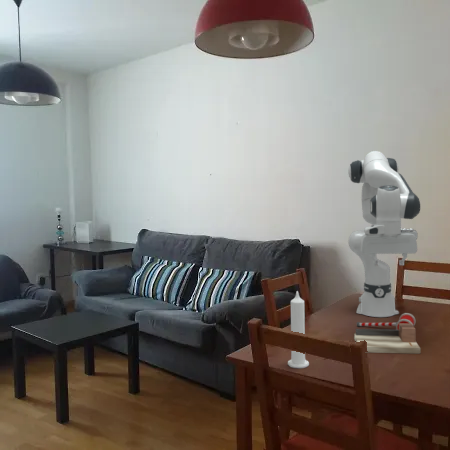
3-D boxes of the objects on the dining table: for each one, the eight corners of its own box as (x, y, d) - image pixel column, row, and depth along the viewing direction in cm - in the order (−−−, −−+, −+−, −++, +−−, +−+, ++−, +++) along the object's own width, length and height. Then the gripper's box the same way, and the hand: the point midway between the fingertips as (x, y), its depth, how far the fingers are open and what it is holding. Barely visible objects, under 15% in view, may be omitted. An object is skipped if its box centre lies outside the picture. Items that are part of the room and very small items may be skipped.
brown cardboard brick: (398, 336, 188) (398, 323, 187) (411, 336, 187) (411, 323, 187) (402, 342, 181) (402, 328, 180) (415, 342, 180) (415, 328, 180)
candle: (306, 360, 170) (305, 288, 168) (310, 368, 163) (310, 293, 161) (286, 361, 170) (285, 289, 168) (289, 368, 163) (288, 294, 161)
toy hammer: (354, 330, 204) (354, 315, 204) (359, 323, 215) (359, 308, 214) (413, 336, 194) (413, 320, 194) (415, 328, 205) (415, 313, 204)
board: (354, 338, 193) (354, 328, 193) (410, 339, 190) (410, 329, 189) (359, 352, 177) (359, 341, 177) (420, 353, 174) (420, 342, 174)
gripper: (415, 227, 187) (415, 263, 188) (360, 228, 190) (360, 264, 191) (419, 229, 181) (419, 266, 182) (362, 229, 184) (362, 266, 185)
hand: (388, 265), depth 187 cm, fingers open, 8 cm apart
